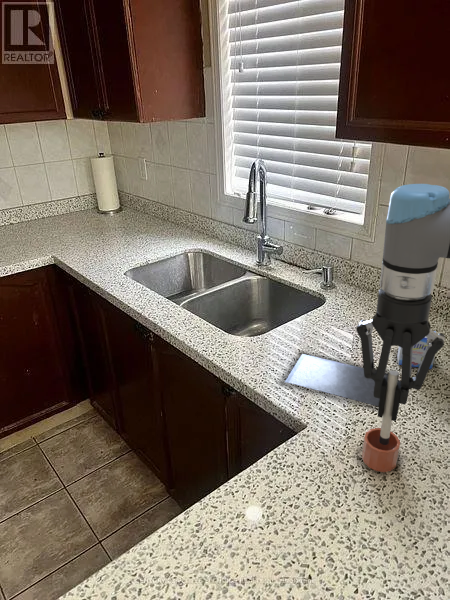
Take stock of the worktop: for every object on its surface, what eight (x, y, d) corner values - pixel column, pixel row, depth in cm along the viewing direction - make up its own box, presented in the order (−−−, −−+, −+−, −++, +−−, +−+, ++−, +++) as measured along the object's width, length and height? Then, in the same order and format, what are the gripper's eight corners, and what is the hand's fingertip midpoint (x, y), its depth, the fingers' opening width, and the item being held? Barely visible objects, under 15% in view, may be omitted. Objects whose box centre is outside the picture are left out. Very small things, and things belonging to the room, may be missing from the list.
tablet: (391, 378, 106) (392, 374, 105) (380, 414, 95) (381, 410, 94) (302, 357, 115) (302, 353, 114) (282, 388, 104) (282, 383, 103)
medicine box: (397, 365, 110) (402, 335, 106) (396, 356, 114) (401, 326, 110) (432, 370, 108) (438, 339, 104) (430, 360, 112) (436, 330, 108)
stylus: (389, 440, 80) (399, 371, 74) (388, 446, 79) (398, 376, 72) (380, 437, 81) (389, 369, 74) (378, 443, 80) (387, 374, 73)
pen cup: (397, 458, 84) (402, 433, 81) (392, 481, 79) (397, 456, 76) (365, 448, 86) (368, 424, 84) (358, 470, 82) (361, 445, 79)
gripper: (350, 293, 67) (340, 416, 77) (458, 309, 61) (431, 441, 71) (361, 275, 73) (350, 391, 83) (460, 288, 67) (435, 412, 77)
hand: (387, 414), depth 77 cm, fingers closed on stylus, 1 cm apart
